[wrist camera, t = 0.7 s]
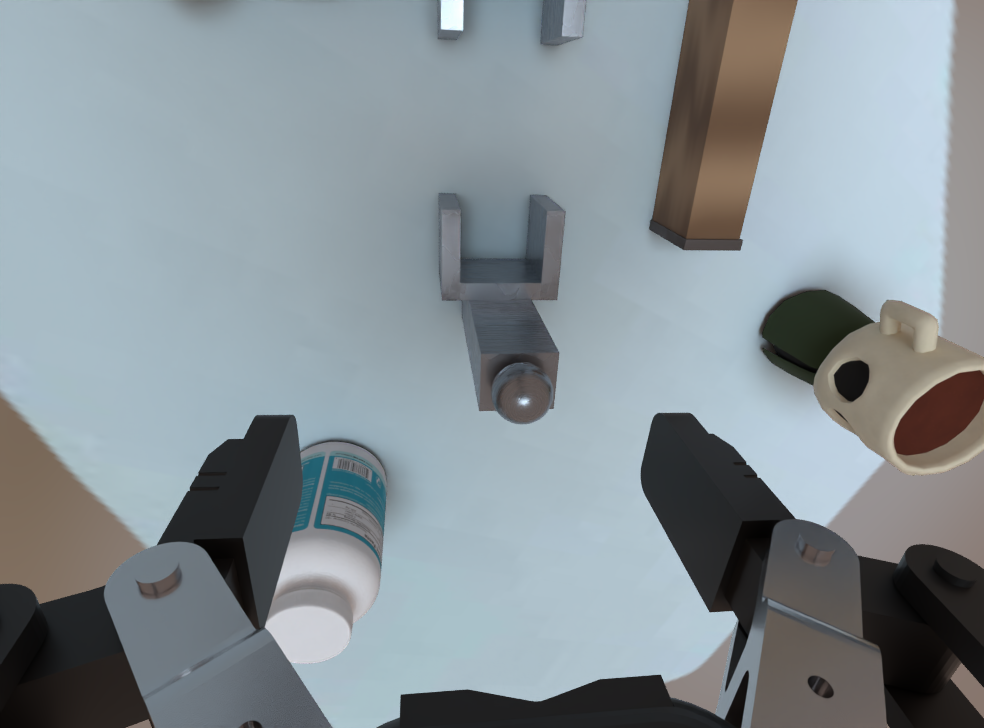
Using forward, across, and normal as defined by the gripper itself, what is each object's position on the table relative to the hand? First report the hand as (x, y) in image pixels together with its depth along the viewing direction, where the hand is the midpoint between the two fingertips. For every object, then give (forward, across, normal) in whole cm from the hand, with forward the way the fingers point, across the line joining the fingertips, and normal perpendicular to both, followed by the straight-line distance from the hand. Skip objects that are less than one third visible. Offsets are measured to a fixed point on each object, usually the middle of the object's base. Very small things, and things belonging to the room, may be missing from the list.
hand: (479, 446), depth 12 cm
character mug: (+24, -26, +7) cm, 36 cm away
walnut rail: (+24, -15, -7) cm, 29 cm away
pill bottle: (+24, +7, +20) cm, 32 cm away
